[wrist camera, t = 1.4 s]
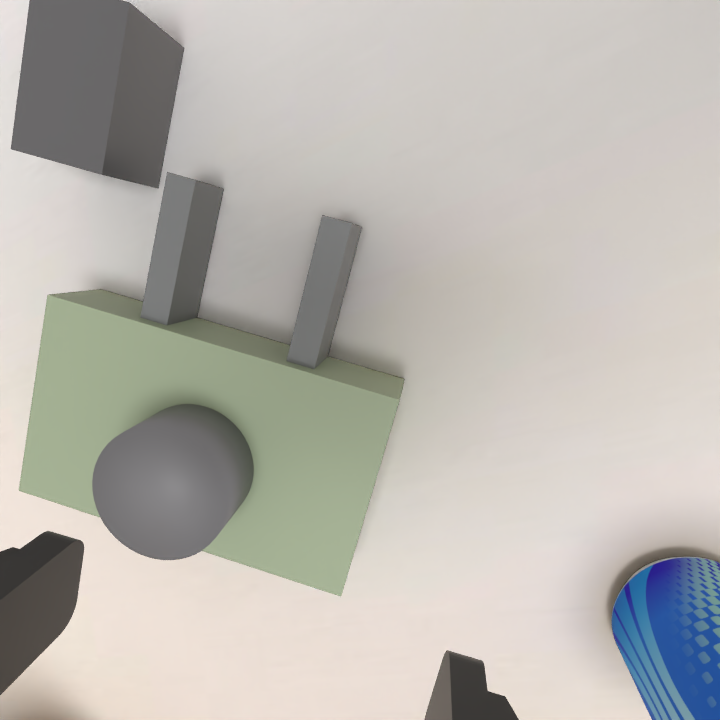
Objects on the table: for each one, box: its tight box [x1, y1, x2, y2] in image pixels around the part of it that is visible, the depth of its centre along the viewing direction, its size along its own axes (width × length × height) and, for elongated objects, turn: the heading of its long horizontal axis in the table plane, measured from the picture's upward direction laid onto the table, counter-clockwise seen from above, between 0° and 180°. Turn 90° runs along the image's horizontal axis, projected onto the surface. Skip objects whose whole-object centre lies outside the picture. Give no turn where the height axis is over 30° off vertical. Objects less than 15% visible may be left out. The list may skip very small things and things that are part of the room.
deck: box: [19, 172, 405, 596], centre depth 31 cm, size 20×20×9 cm
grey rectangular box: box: [11, 0, 184, 188], centre depth 30 cm, size 8×5×6 cm, turn 165°
